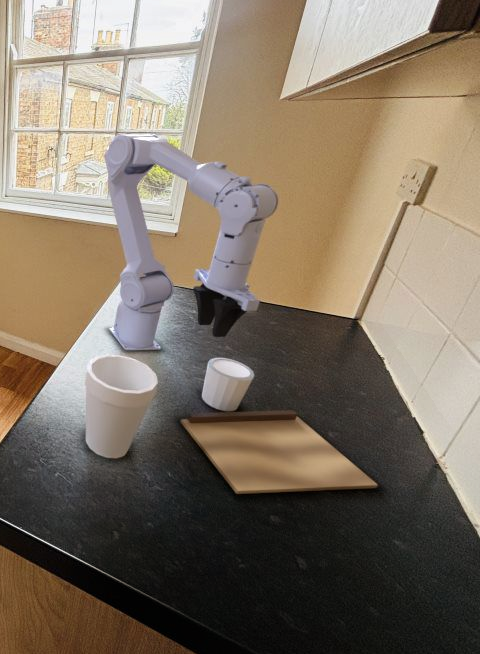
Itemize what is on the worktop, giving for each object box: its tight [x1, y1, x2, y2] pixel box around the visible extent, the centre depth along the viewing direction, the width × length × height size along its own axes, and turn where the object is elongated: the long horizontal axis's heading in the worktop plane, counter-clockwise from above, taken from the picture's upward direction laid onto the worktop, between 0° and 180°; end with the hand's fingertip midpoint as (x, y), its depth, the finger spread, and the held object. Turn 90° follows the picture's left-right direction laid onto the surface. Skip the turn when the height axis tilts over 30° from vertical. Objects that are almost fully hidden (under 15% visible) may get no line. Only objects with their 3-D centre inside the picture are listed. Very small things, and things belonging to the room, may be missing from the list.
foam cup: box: [84, 353, 159, 459], centre depth 59 cm, size 10×9×13 cm
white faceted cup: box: [201, 357, 255, 412], centre depth 70 cm, size 7×7×7 cm
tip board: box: [180, 409, 379, 495], centre depth 60 cm, size 14×20×2 cm
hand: (211, 330), depth 74 cm, fingers open, 4 cm apart
